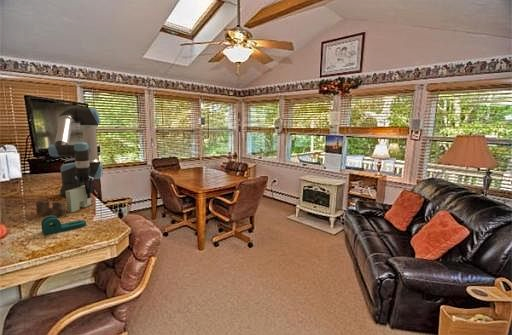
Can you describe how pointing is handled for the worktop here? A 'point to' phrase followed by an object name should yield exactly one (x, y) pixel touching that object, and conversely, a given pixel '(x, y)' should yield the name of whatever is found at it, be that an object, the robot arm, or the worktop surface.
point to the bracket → (59, 225)
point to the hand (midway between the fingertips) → (85, 202)
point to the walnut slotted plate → (44, 209)
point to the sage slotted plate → (76, 199)
